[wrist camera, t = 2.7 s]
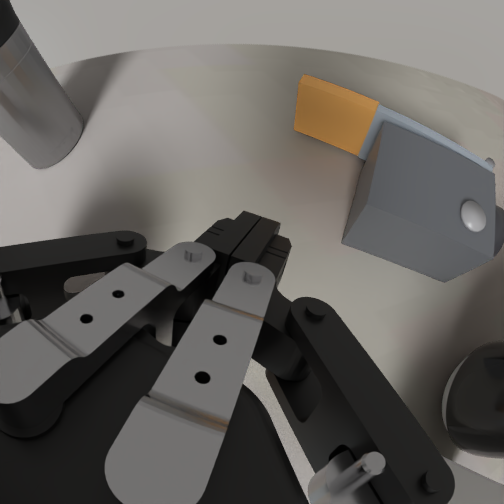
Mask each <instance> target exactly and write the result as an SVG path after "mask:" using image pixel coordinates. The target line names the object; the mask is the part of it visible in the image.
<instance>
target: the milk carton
mask: <svg viewBox="0 0 504 504" xmlns="http://www.w3.org/2000/svg"><path fill="white" fill-rule="evenodd" d="M442 457H443V456H442ZM443 458H444V460H445V461H446V463H447V464H448V466H449V467H450V469H451V470H452V473H453V475H454V479H455V490H454V494H453V496H452V498H451V500H450V501H449V502H448V503H447V504H504V485H502V484H500V483H498V482H496V481H493V480H491V479H489V478H487V477H485V476H482V475H480V474H478V473H476V472H474V471H472V470H470V469H468V468H466V467H463V466H461V465H459V464H457V463H455V462H453V461H451V460H449V459H447V458H445V457H443Z"/></svg>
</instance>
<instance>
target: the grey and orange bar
mask: <svg viewBox="0 0 504 504" xmlns="http://www.w3.org/2000/svg"><path fill="white" fill-rule="evenodd" d="M378 104H379V102H378V101H375V100H373V99H371V98H368V97H366V96H363V95H361V94H358V93H356V92H353V91H351V90H348V89H346V88H343V87H340V86H338V85H335V84H332V83H329V82H327V81H324V80H321V79H318V78H315V77H312V76H309V75H306V74H304V75H303V77H302V78H301V80H300V81H299V84H298V94H297V104H296V114H295V124H294V130H295V131H298V132H301V133H303V134H306V135H308V136H311V137H314V138H316V139H319V140H321V141H324V142H326V143H329V144H331V145H333V146H336V147H338V148H341V149H343V150H345V151H348V152H350V153H352V154H355V155H357V156H358V157H359V158H361V159H363V160H365V161H366V160H367V158H368V156H369V154H370V151H371V149H372V147H373V145H374V143H375V141H376V138H377V136H378V134H379V132H380V130H381V128H382V125H383V123H384V121H385V122H387V123H390V124H392V125H395V126H397V127H400V128H402V129H405V130H407V131H409V132H412V133H414V134H416V135H419V136H421V137H423V138H425V139H428V140H430V141H432V142H434V143H436V144H438V145H440V146H443V147H445V148H447V149H449V150H451V151H453V152H455V153H457V154H459V155H461V156H463V157H465V158H467V159H468V160H470V161H472V162H474V163H476V164H478V165H480V166H481V167H483V168H485V169H487V170H489V171H490V172H492V169H493V168H494V167H495V163H494V161H493V160H492V159H491V158H487V159H486V160H485V161H484V160H483V159H481V158H480V157H478V156H476V155H475V154H473V153H472V152H470V151H468V150H467V149H465V148H463V147H462V146H460V145H458V144H457V143H455V142H453V141H451V140H450V139H448V138H446V137H444V136H442V135H441V134H439V133H437V132H435V131H433V130H431V129H429V128H428V127H426V126H424V125H422V124H420V123H418V122H416V121H414V120H412V119H410V118H408V117H406V116H404V115H401V114H399V113H397V112H395V111H393V110H391V109H389V108H386V107H384V106H382V105H380V104H379V105H378Z"/></svg>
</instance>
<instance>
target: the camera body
mask: <svg viewBox="0 0 504 504" xmlns="http://www.w3.org/2000/svg"><path fill="white" fill-rule="evenodd" d="M341 243H342V244H345V245H347V246H350V247H353V248H356V249H358V250H361V251H364V252H366V253H369V254H372V255H374V256H377V257H380V258H382V259H385V260H388V261H390V262H393V263H396V264H398V265H401V266H403V267H406V268H409V269H411V270H414V271H416V272H419V273H421V274H424V275H426V276H429V277H432V278H434V279H437V280H439V281H442V282H447V281H449V280H451V279H453V278H455V277H457V276H459V275H462V274H464V273H466V272H468V271H470V270H472V269H474V268H476V267H478V266H480V265H482V264H484V263H486V262H488V261H490V260H492V259H493V258H494V257H495V256H496V255H497V253H498V252H499V250H500V249H501V247H502V245H503V243H504V210H503V209H502V208H500V207H498V206H496V202H495V174H494V173H492V172H490V171H489V170H487V169H485V168H483V167H481V166H480V165H478V164H476V163H474V162H472V161H470V160H468V159H467V158H465V157H463V156H461V155H459V154H457V153H455V152H453V151H451V150H449V149H447V148H445V147H443V146H440V145H438V144H436V143H434V142H432V141H430V140H428V139H425V138H423V137H421V136H419V135H416V134H414V133H412V132H409V131H407V130H405V129H402V128H400V127H397V126H395V125H392V124H390V123H387V122H385V121H384V123H383V125H382V128H381V130H380V132H379V134H378V136H377V138H376V141H375V143H374V145H373V147H372V149H371V151H370V154H369V156H368V158H367V160H366V162H365V164H364V166H363V168H362V170H361V173H360V177H359V181H358V185H357V189H356V193H355V196H354V200H353V204H352V207H351V211H350V215H349V218H348V222H347V225H346V229H345V232H344V236H343V239H342V242H341Z"/></svg>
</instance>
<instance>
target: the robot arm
mask: <svg viewBox="0 0 504 504" xmlns="http://www.w3.org/2000/svg"><path fill="white" fill-rule="evenodd" d="M82 129H83V119H82V117H81V115H80V114H79V112H78V111H77V109H76V108H75V106H74V105H73V103H72V102H71V101H70V99H69V97H68V96H67V94H66V93H65V91H64V90H63V88H62V87H61V85H60V84H59V82H58V81H57V79H56V78H55V76H54V75H53V73H52V72H51V70H50V68H49V67H48V65H47V64H46V62H45V61H44V59H43V58H42V56H41V54H40V53H39V51H38V50H37V48H36V46H35V45H34V43H33V42H32V40H31V39H30V37H29V35H28V34H27V32H26V30H25V29H24V27H23V25H22V24H21V22H20V21H19V19H18V17H17V16H16V14H15V12H14V10H13V7H12V5H11V3H10V0H0V136H1V137H2V138H3V139H4V140H5V141H6V142H7V143H8V144H9V145H10V146H11V147H12V148H13V149H14V150H15V151H16V152H17V153H18V154H19V155H20V156H21V157H22V158H23V159H25V160H26V161H27V162H28V163H29V164H30V165H31V166H32V167H34V168H36V169H43V168H47V167H50V166H52V165H54V164H55V163H57V162H59V161H60V160H61V159H62V158H64V157H65V156H66V155H67V154H68V153H69V152H70V151H71V149H72V148H73V147H74V146H75V144H76V143H77V141H78V139H79V137H80V135H81V133H82ZM279 229H280V223H279V222H276V221H273V220H270V219H267V218H264V217H261V216H259V215H256V214H253V213H249V212H246V211H243V212H242V213H241V214H240V215H239V216H238V217H237V218H236V219H235V220H232V219H229V218H225V219H222V220H218V221H217V222H216V223H214V224H213V225H212V227H210V228H209V229H208V230H207V231H205V232H204V233H203V234H202V235H201V236H200V237H199V238H198V239H196V240H195V241H194V242H182V243H178V244H176V245H175V246H173V247H172V248H170V249H169V250H167V251H166V252H161V251H155V250H149V249H146V248H147V241H146V239H145V237H144V236H142V235H141V234H139V233H136V232H132V231H116V232H108V233H100V234H91V235H84V236H76V237H68V238H61V239H53V240H46V241H39V242H32V243H25V244H18V245H11V246H5V247H0V504H309V503H308V500H307V498H306V496H305V494H304V492H303V490H302V488H301V485H300V483H299V481H298V479H297V477H296V474H295V472H294V470H293V468H292V465H291V463H290V461H289V459H288V457H287V454H286V452H285V450H284V447H283V445H282V443H281V441H280V438H279V436H278V434H277V431H276V429H275V427H274V424H273V422H272V420H271V417H270V415H269V413H268V411H267V410H266V408H265V407H264V405H263V404H262V402H261V401H260V400H259V399H258V397H257V396H256V395H255V394H254V393H253V392H252V391H251V390H250V389H249V388H247V387H246V386H245V385H244V384H242V383H243V381H244V378H245V375H246V372H247V369H248V366H249V363H250V360H251V358H252V359H254V360H255V361H256V362H258V363H259V364H261V365H262V366H263V367H265V368H266V372H265V373H266V377H267V380H268V382H269V384H270V386H271V388H272V390H273V392H274V394H275V396H276V398H277V400H278V402H279V404H280V406H281V408H282V410H283V412H284V414H285V416H286V418H287V420H288V422H289V424H290V426H291V428H292V430H293V432H294V434H295V436H296V438H297V440H298V441H299V443H300V445H301V447H302V449H303V451H304V453H305V455H306V457H307V459H308V461H309V463H310V464H311V466H312V468H313V470H314V472H315V475H314V476H313V477H312V478H311V480H310V482H309V485H308V497H309V500H310V503H311V504H447V503H448V502H449V501H450V500H451V498H452V496H453V494H454V490H455V479H454V475H453V473H452V470H451V469H450V467H449V466H448V464H447V463H446V461H445V460H444V458H443V457H442V456H441V454H440V453H439V451H438V450H437V448H436V447H435V446H434V444H433V443H432V441H431V440H430V438H429V437H428V436H427V434H426V433H425V431H424V430H423V429H422V427H421V426H420V424H419V423H418V422H417V420H416V419H415V417H414V416H413V415H412V413H411V412H410V411H409V409H408V408H407V406H406V405H405V404H404V402H403V401H402V400H401V398H400V397H399V395H398V394H397V393H396V391H395V390H394V389H393V387H392V386H391V385H390V383H389V382H388V380H387V379H386V378H385V376H384V375H383V374H382V372H381V371H380V370H379V368H378V367H377V366H376V364H375V363H374V362H373V360H372V359H371V358H370V356H369V355H368V354H367V352H366V351H365V350H364V348H363V347H362V346H361V344H360V343H359V342H358V340H357V339H356V338H355V336H354V335H353V334H352V332H351V331H350V330H349V329H348V327H347V326H346V325H345V323H344V322H343V321H342V319H341V318H340V317H339V315H338V314H337V313H336V312H335V310H334V309H333V308H332V307H331V306H330V305H328V304H327V303H325V302H323V301H321V300H319V299H316V298H311V297H301V298H298V299H296V300H294V301H293V302H291V301H290V300H288V299H287V298H285V297H284V296H283V295H282V294H281V293H280V292H279V291H278V289H277V287H278V284H279V282H280V280H281V277H282V274H283V271H284V268H285V265H286V262H287V259H288V256H289V253H290V250H291V247H292V246H291V243H290V240H289V239H288V238H285V237H282V236H279V235H278V232H279ZM99 272H105V276H104V277H102V278H101V279H99V280H98V281H96V282H95V283H94V284H92V285H91V286H89V287H88V288H86V289H85V290H83V291H82V292H78V293H68V292H66V291H65V290H64V283H65V281H66V280H67V279H69V278H70V277H74V276H80V275H87V274H93V273H99Z"/></svg>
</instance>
